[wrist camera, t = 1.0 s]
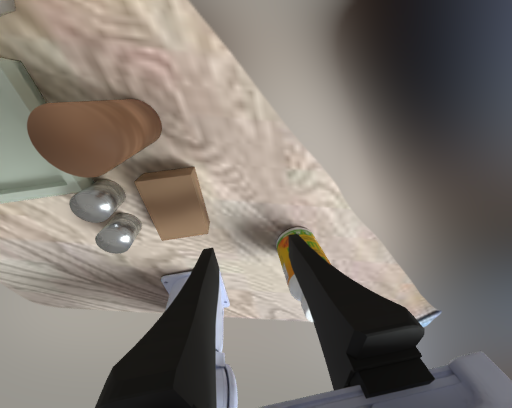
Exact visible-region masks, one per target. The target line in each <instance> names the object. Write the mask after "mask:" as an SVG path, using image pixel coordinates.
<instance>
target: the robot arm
mask: <svg viewBox="0 0 512 408" xmlns="http://www.w3.org/2000/svg"><path fill="white" fill-rule="evenodd" d="M288 243H289V259H290V262H291V266H292V269H293V272H294V274H295V276H296V279H297V281H298V283H299V286H300V288H301V290H302V292H303V295H304V297H305V299H306V302H307V304H308V307H309V310H310V313H311V316H312V319H313V322H314V325H315V328H316V331H317V334H318V337H319V341H320V344H321V347H322V351H323V354H324V357H325V360H326V364H327V367H328V371H329V374H330V378H331V381H332V385H333V389H334V391H330V392H325V393H321V394H316V395H312V396H308V397H303V398H299V399H295V400H290V401H285V402H281V403H276V404H272V405H268V406H263V407H259V408H512V381H511V380H510V379H509V378H508V377H507V376H506V375H505V374H504V373H503V372H502V371H501V370H500V369H499V368H498V367H497V366H496V365H495V364H494V363H493V362H492V361H491V360H490V359H489V358H488V357H487V356H486V355H485V354H484V353H483V352H476V353H471V354H467V355H462V356H459V357H456V358H454V359H452V360H451V361H450V362H449V363H448V365H445V366H441V367H437V368H432V369H427V367H426V366H425V364H424V363H423V362H422V360H421V359H420V357H422V355H421V353H420V352H419V351H418V349H417V348H416V345H417V344H418V343H419V341H420V340H421V338H422V337H423V335H424V328H423V327H422V326H421V325H420V323H419V322H418V321H417V320H416V318H415V317H414V316H413V315H412V314H411V313H410V312H409V311H408V310H407V309H406V308H405V307H403V306H401V305H399V304H396V303H394V302H392V301H390V300H388V299H386V298H384V297H382V296H380V295H378V294H376V293H374V292H372V291H370V290H369V289H367V288H365V287H363V286H362V285H360V284H358V283H357V282H355V281H353V280H352V279H350V278H349V277H347V276H346V275H344V274H343V273H341V272H340V271H339V270H337V269H336V268H335V267H333V266H332V265H331V264H330V263H328V262H327V261H326V260H325V259H323V258H322V257H321V256H320V255H319V254H318V253H317V252H316V251H314V250H313V249H312V248H311V247H310V246H309V245H308V244H307V243H306V242H305V241H304V240H303V239H302V238H301V237H300V236H299V235H298V234H292V235H288ZM161 282H162V283H163V285H164V287H165V288H166V290H167V292H168V294H169V299H168V302H167V305H166V309H165V312H164V313H163V315H162V316H161V317H160V318H159V320H158V321H157V322H156V323H155V324H154V326H153V327H152V328H151V329H150V330H149V331H148V332H147V333H146V335H144V337H143V338H142V339H141V340H140V341H139V342H138V343H137V344H136V345H135V346H134V347H133V348H132V349H131V350H130V351H129V352H128V353H127V354H126V355H125V356H124V357H123V358H122V359H121V360H120V361H119V362H118V363H117V364H116V365H115V366H114V367H113V368H112V370H111V372H110V374H109V376H108V378H107V380H106V383H105V385H104V388H103V390H102V392H101V394H100V397H99V399H98V402H97V404H96V407H95V408H237V406H238V394H237V383H236V379H235V375H234V373H233V371H232V369H231V367H230V365H229V364H225V354H224V353H222V348H223V316H224V308H225V307H229V306H230V303H229V299H228V296H227V293H226V290H225V286H224V283H223V280H222V276H221V273H220V270H219V266H218V263H217V259H216V256H215V253H214V249H213V248H208V249H204V250H203V251H202V253H201V255H200V257H199V259H198V261H197V263H196V265H195V267H194V269H193V270H192V271H189V272H184V273H178V274H172V275H166V276H163V277H162V278H161Z"/></svg>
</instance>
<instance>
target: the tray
mask: <svg viewBox="0 0 512 408" xmlns="http://www.w3.org/2000/svg"><path fill="white" fill-rule="evenodd" d="M42 104H46V102H45V100H44V98H43V97H42V95H41V93H40V92H39V90H38V88H37V87H36V85H35V83H34V82H33V80H32V79H31V77H30V75H29V74H28V72H27V70H26V69H25V67H24V65H23V64H22V62H21V61H16V60H10V59H4V58H0V204H1V203H8V202H15V201H22V200H29V199H36V198H43V197H50V196H57V195H64V194H71V193H78V192H81V191H82V190H84V189H85V188H87V187H88V186H90V185H91V184H93V183H94V180H93V179H92V177H91V178H85V177H78V176H74V175H71V174H68V173H66V172H63V171H61V170H59V169H58V168H56V167H54V166H53V165H52V164H50V163H49V162H48V161H46V160H45V159H44V158H43V157H42V156H41V155H40V154H39V153H38V151H37V150H36V149H35V147H34V146H33V144H32V142H31V140H30V138H29V135H28V131H27V120H28V117H29V115H30V113H31V112H32V111H33V110H34V109H35V108H36V107H38V106H40V105H42Z"/></svg>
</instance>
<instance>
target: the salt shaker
mask: <svg viewBox="0 0 512 408" xmlns="http://www.w3.org/2000/svg"><path fill="white" fill-rule="evenodd" d="M13 11H15V3H14V0H0V16H2V15H5V14H7V13H10V12H13Z"/></svg>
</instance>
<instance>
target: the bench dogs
mask: <svg viewBox="0 0 512 408" xmlns="http://www.w3.org/2000/svg"><path fill="white" fill-rule="evenodd" d="M125 198H126V194H125V192H124V190H123V188H122V187H121V186H120V185H118V184H117V183H115V182H113V181H110V180H98V181H96V182H94V183H93V184H91V185H90V186H88V187H87V188H85V189H84V190H82V191H81V192H79V193H78V194H76V195H75V196H73V197H72V198H71V200H70V208H71V210H72V211H73V213H74V214H75V215H77V216H78V217H79V218H81V219H83V220H85V221H88V222H94V223H98V222H103V221H105V220H107V219H108V218H109V217H110V216H111V215H112V214H113V213H114V211H115V210H116V209H117V208H118V207H119V206H120V205H121V204H122V203H123V202H124V201H125ZM141 229H142V224H141V222H140V220H139V219H138V218H137V217H135V216H133V215H131V214H127V213H120V214H117V215H115V216H114V217H113V218H112V219H111V220H110V221H109V223H108V224H107V225H106V226H105V227H104V228H103V229H102V230H101V231H100V232H99V233H98V234H97V236H96V238H95V240H96V243H97V245H98V246H99V247H100V248H101V249H103V250H105V251H107V252H110V253H123V252H126V251H127V250H128V249H129V248H130V246H131V245H132V243H133V241H134V240H135V238H136V237H137V235H138V234H139V232H140V231H141Z"/></svg>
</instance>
